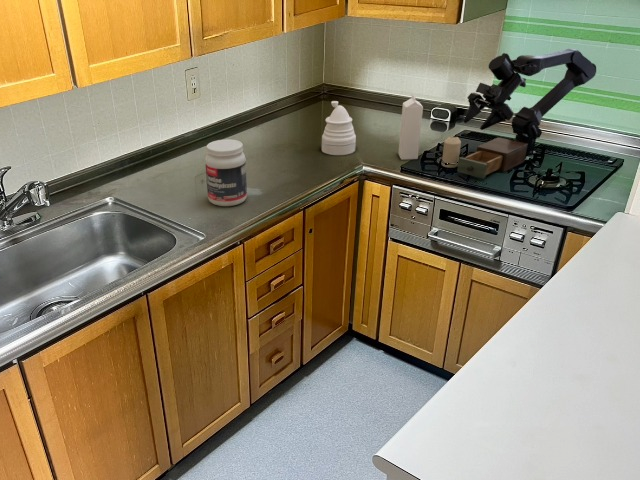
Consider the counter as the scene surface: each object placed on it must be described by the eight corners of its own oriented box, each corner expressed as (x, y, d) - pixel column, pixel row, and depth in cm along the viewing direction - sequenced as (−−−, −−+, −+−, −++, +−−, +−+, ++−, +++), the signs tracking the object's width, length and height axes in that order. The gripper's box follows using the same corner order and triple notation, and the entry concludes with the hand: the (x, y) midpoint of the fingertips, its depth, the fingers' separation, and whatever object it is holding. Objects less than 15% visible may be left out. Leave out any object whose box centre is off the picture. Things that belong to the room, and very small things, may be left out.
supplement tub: (204, 207, 199) (200, 151, 190) (211, 192, 210) (207, 138, 200) (244, 208, 197) (242, 151, 188) (249, 192, 208) (247, 138, 199)
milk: (401, 159, 228) (406, 98, 216) (398, 154, 233) (403, 93, 221) (418, 159, 227) (424, 97, 216) (414, 153, 233) (420, 93, 221)
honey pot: (318, 154, 237) (319, 106, 228) (325, 143, 248) (326, 97, 238) (352, 156, 234) (354, 107, 224) (357, 145, 244) (360, 98, 234)
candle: (456, 162, 223) (459, 134, 217) (459, 167, 218) (463, 139, 213) (440, 162, 223) (443, 135, 218) (442, 168, 219) (446, 139, 213)
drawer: (481, 179, 206) (483, 165, 203) (455, 172, 212) (456, 158, 210) (503, 168, 213) (506, 155, 210) (477, 162, 219) (479, 148, 217)
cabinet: (503, 172, 212) (507, 153, 209) (474, 164, 220) (477, 146, 216) (524, 162, 220) (528, 143, 216) (495, 155, 227) (498, 137, 224)
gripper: (476, 68, 216) (444, 104, 219) (512, 79, 200) (477, 118, 204) (491, 89, 222) (460, 124, 225) (528, 101, 207) (494, 138, 210)
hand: (472, 125), depth 216 cm, fingers open, 9 cm apart
